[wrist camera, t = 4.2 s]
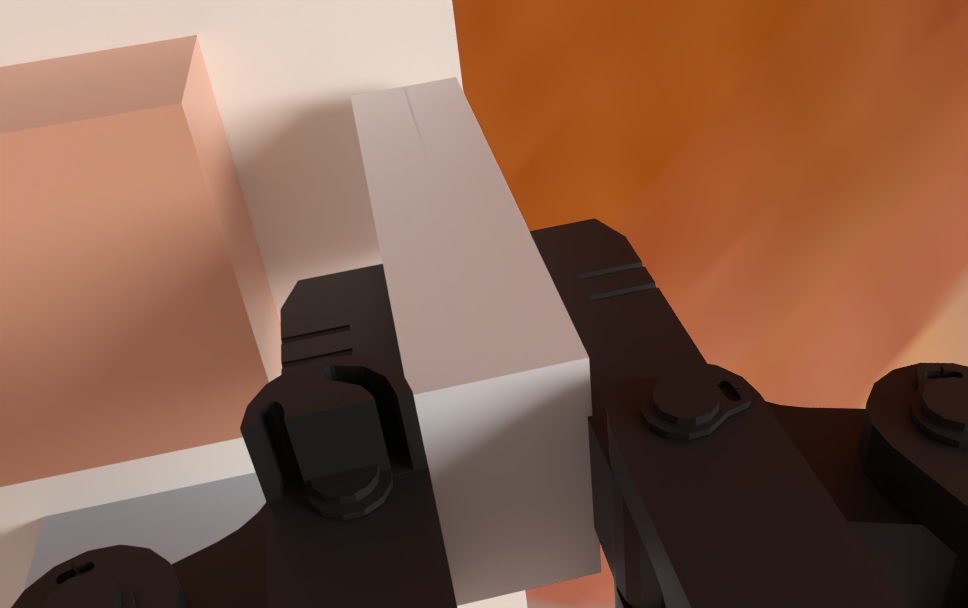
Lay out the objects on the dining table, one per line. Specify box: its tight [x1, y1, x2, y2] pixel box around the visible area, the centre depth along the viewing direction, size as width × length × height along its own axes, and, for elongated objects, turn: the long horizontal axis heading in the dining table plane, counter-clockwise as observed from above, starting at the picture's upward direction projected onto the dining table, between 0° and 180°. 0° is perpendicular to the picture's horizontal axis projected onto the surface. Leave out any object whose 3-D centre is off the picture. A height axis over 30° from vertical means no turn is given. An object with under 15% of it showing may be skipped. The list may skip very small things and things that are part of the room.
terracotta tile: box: [0, 35, 282, 487], centre depth 12 cm, size 5×5×2 cm
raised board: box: [0, 0, 527, 608], centre depth 18 cm, size 18×14×5 cm
